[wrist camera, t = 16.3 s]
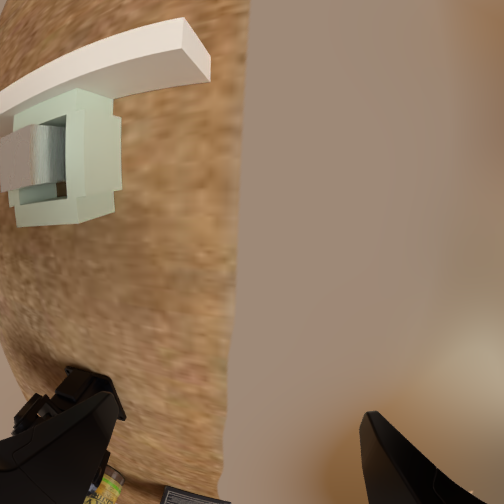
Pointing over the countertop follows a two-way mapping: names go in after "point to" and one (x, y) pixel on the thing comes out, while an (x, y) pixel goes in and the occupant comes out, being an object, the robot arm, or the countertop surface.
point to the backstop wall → (114, 68)
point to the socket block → (74, 161)
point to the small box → (186, 497)
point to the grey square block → (32, 157)
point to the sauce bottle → (107, 488)
